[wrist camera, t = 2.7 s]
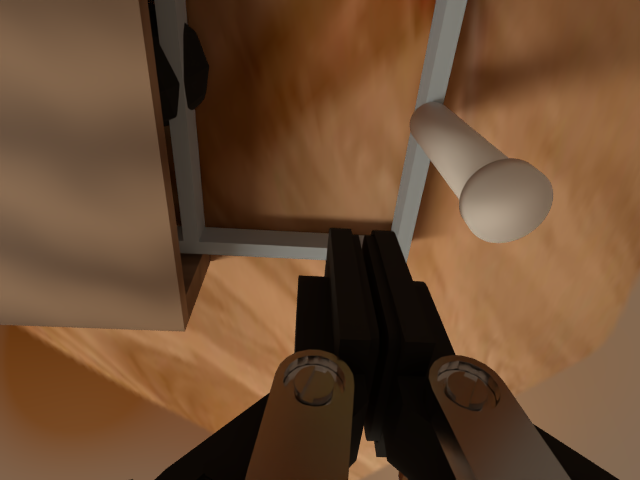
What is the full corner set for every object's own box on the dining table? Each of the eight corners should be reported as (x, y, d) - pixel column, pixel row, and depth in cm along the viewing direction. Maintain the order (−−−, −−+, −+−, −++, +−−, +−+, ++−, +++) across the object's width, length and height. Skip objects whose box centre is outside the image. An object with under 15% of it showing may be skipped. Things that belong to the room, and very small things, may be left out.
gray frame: (-453, -189, 17) (-1748, -497, 6) (494, -89, 20) (719, -188, 9) (-182, 219, 28) (-496, 364, 17) (413, 249, 30) (472, 391, 19)
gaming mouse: (-48, 69, 23) (-112, 79, 20) (182, -15, 21) (156, -20, 18) (21, 168, 26) (-24, 191, 23) (228, 102, 24) (213, 117, 21)
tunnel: (-87, -223, 17) (-317, -349, 11) (172, -193, 18) (97, -296, 12) (64, 255, 30) (-1, 324, 24) (210, 261, 31) (184, 331, 25)
